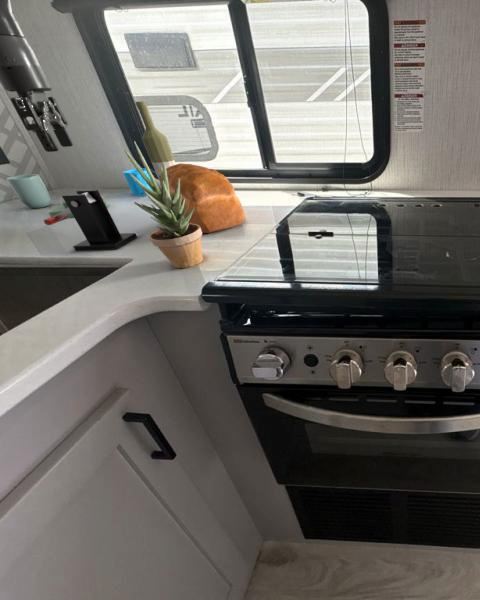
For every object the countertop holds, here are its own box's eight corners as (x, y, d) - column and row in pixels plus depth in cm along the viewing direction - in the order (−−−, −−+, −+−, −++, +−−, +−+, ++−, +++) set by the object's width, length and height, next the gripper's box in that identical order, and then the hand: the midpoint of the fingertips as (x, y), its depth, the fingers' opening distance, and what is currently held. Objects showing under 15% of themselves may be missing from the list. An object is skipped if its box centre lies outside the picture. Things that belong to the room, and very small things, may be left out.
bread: (202, 237, 86) (179, 175, 77) (165, 217, 100) (143, 163, 92) (252, 223, 95) (236, 165, 86) (211, 206, 109) (194, 156, 101)
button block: (53, 219, 101) (45, 206, 99) (63, 211, 109) (56, 198, 107) (100, 213, 106) (94, 200, 104) (107, 205, 113) (101, 193, 111)
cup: (26, 206, 114) (7, 176, 109) (56, 202, 119) (39, 173, 113) (25, 211, 109) (4, 180, 104) (55, 206, 114) (38, 176, 108)
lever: (50, 228, 79) (40, 219, 77) (67, 221, 83) (58, 212, 82) (84, 205, 76) (75, 196, 75) (100, 199, 80) (91, 190, 79)
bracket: (75, 250, 80) (43, 198, 73) (99, 238, 87) (72, 188, 80) (116, 249, 80) (88, 196, 74) (137, 237, 87) (113, 187, 80)
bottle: (180, 199, 117) (143, 101, 101) (161, 200, 118) (121, 102, 101) (191, 194, 123) (158, 101, 107) (173, 194, 123) (137, 101, 107)
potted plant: (157, 263, 73) (99, 141, 60) (201, 249, 79) (158, 136, 66) (173, 277, 67) (113, 145, 54) (219, 261, 73) (176, 139, 60)
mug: (133, 192, 128) (123, 170, 123) (157, 189, 132) (148, 167, 127) (133, 199, 119) (122, 175, 115) (159, 195, 123) (150, 172, 119)
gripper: (11, 66, 73) (53, 146, 82) (-30, 61, 62) (25, 154, 71) (53, 66, 75) (90, 144, 84) (21, 62, 64) (68, 151, 73)
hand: (60, 148), depth 77 cm, fingers open, 8 cm apart
